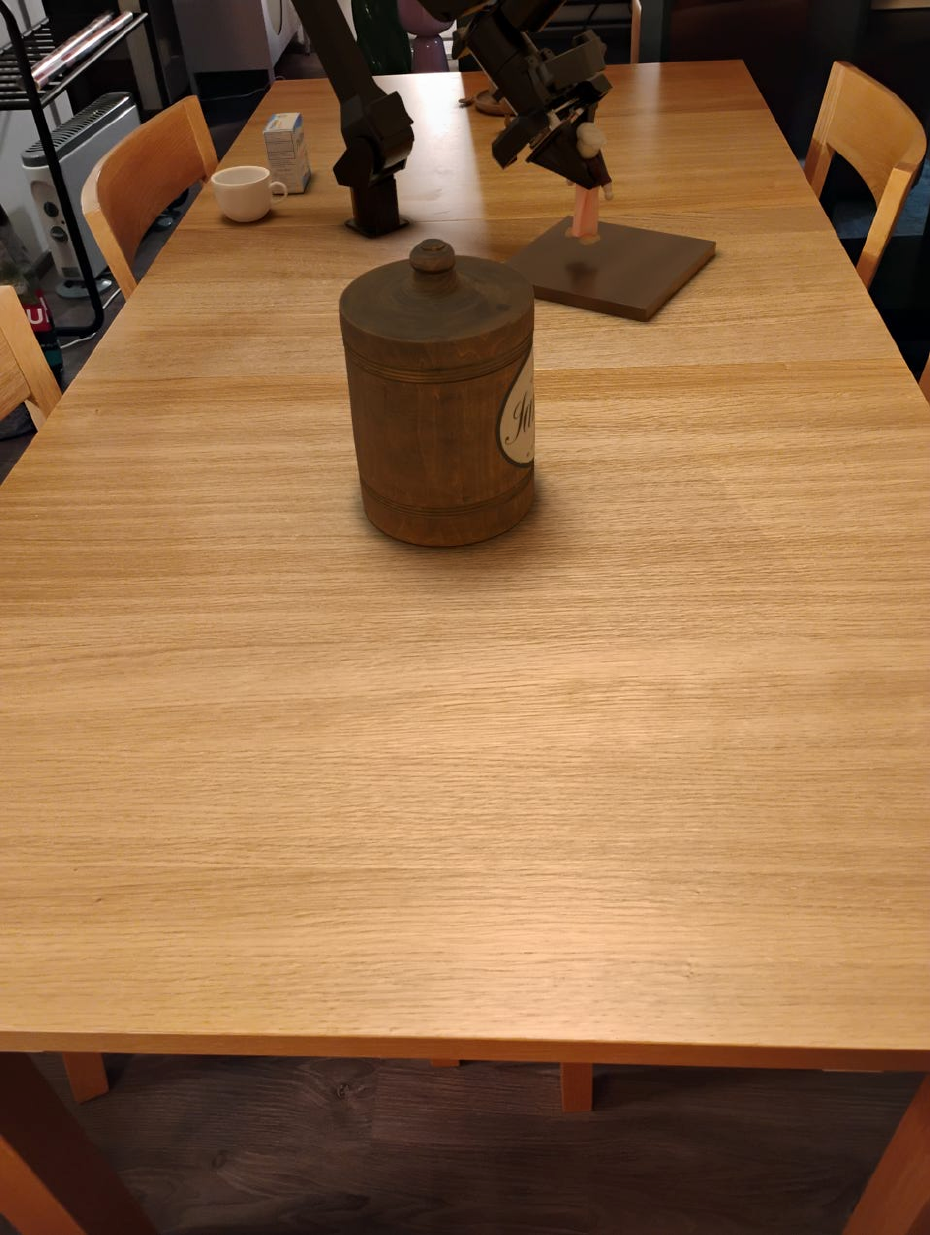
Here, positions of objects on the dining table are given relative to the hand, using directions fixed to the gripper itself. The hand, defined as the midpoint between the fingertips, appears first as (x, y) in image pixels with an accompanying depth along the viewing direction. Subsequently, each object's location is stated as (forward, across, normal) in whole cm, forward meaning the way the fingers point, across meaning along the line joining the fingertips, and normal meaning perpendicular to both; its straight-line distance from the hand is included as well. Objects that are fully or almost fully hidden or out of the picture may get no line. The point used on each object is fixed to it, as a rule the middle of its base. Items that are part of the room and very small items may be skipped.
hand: (599, 183), depth 111 cm
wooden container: (+14, -47, 0) cm, 49 cm away
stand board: (+8, 0, +6) cm, 10 cm away
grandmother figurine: (+4, 0, +6) cm, 7 cm away
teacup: (-28, -4, +42) cm, 51 cm away
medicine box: (-30, +8, +45) cm, 54 cm away
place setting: (-22, +48, +37) cm, 65 cm away
